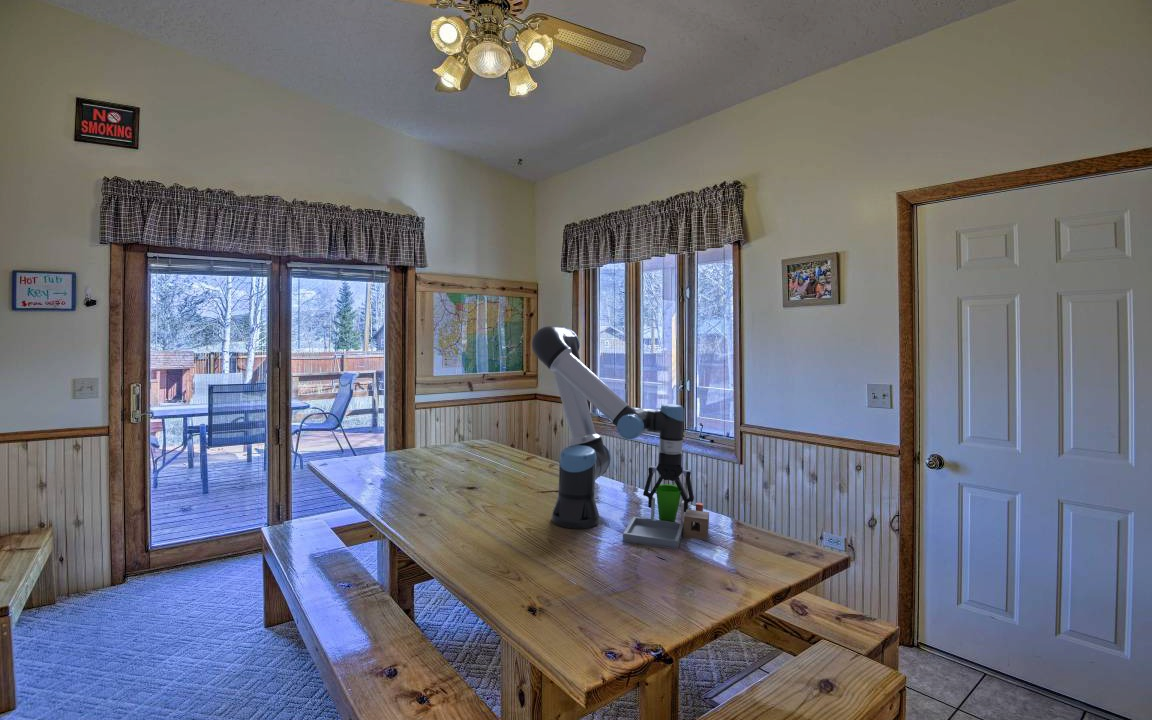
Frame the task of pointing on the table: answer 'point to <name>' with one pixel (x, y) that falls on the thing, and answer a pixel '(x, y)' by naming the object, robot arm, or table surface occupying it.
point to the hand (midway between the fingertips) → (667, 519)
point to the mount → (696, 529)
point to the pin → (699, 508)
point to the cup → (668, 501)
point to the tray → (654, 532)
